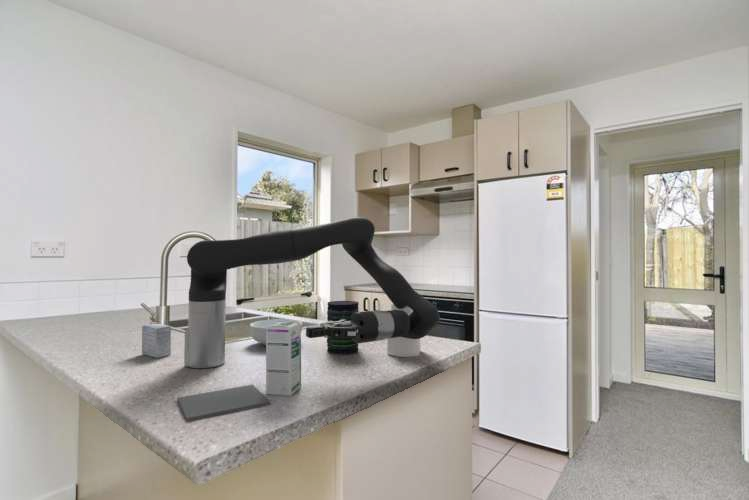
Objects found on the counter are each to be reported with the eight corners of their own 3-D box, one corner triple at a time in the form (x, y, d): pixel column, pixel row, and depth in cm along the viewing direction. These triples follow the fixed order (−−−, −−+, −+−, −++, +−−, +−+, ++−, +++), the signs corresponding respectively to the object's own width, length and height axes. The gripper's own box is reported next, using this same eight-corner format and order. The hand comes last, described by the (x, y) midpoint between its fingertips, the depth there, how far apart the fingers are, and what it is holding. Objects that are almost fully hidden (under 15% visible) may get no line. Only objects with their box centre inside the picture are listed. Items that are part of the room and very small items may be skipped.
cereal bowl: (238, 347, 126) (238, 325, 126) (269, 337, 141) (269, 317, 141) (284, 352, 120) (284, 328, 120) (311, 341, 135) (311, 320, 135)
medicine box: (171, 355, 115) (171, 325, 115) (155, 358, 111) (156, 328, 111) (156, 351, 119) (157, 323, 119) (141, 354, 115) (141, 325, 116)
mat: (252, 387, 87) (252, 384, 87) (270, 404, 77) (270, 401, 77) (177, 400, 79) (177, 397, 79) (186, 421, 69) (186, 418, 69)
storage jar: (345, 356, 115) (345, 305, 115) (320, 351, 120) (320, 303, 121) (364, 349, 123) (365, 302, 124) (340, 345, 129) (340, 300, 129)
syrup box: (290, 396, 82) (291, 326, 82) (264, 394, 83) (265, 325, 83) (301, 387, 87) (302, 322, 88) (276, 385, 88) (277, 321, 89)
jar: (391, 347, 127) (391, 300, 127) (421, 348, 125) (421, 301, 125) (385, 356, 116) (386, 305, 116) (418, 357, 114) (418, 306, 114)
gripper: (358, 308, 104) (296, 312, 94) (387, 314, 93) (320, 320, 83) (357, 336, 103) (295, 344, 94) (386, 346, 92) (319, 355, 83)
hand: (307, 332), depth 88 cm, fingers closed
